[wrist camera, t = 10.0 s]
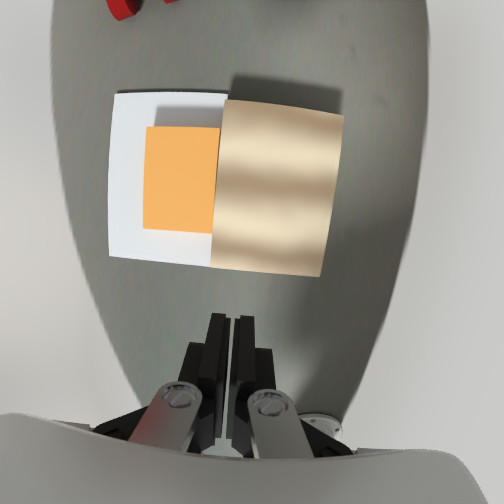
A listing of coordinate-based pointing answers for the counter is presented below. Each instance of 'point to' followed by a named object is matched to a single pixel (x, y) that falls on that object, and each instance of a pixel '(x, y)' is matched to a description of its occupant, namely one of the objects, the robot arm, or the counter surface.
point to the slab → (180, 178)
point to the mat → (132, 173)
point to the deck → (274, 188)
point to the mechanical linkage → (125, 8)
